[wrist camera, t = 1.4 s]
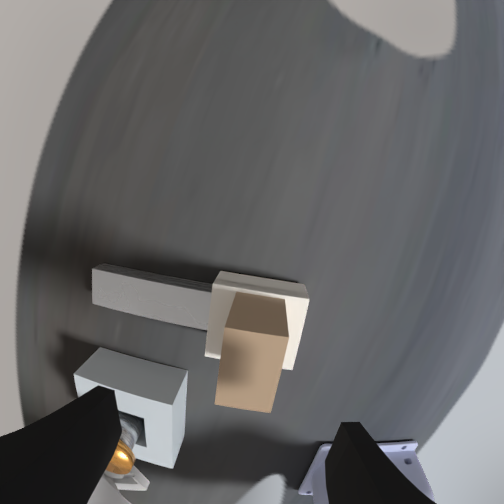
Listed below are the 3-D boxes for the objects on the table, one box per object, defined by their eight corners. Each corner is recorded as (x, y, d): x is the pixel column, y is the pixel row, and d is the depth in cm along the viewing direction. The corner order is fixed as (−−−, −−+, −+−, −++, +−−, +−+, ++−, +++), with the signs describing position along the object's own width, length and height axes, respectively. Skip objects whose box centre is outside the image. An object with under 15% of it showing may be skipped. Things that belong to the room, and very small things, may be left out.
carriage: (304, 284, 18) (321, 336, 11) (290, 348, 19) (296, 418, 12) (220, 270, 18) (193, 316, 12) (212, 336, 19) (186, 401, 12)
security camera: (74, 447, 24) (34, 507, 14) (118, 447, 23) (78, 521, 13) (107, 482, 25) (77, 541, 15) (153, 484, 24) (126, 555, 14)
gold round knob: (151, 406, 18) (128, 450, 13) (153, 437, 18) (134, 480, 14) (106, 392, 18) (77, 431, 14) (111, 424, 19) (87, 462, 14)
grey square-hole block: (187, 370, 20) (172, 405, 16) (184, 434, 22) (172, 468, 18) (100, 346, 20) (73, 373, 16) (108, 412, 22) (89, 440, 18)
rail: (300, 298, 18) (303, 307, 17) (293, 333, 19) (294, 344, 17) (103, 262, 19) (92, 268, 17) (103, 296, 19) (92, 303, 18)
